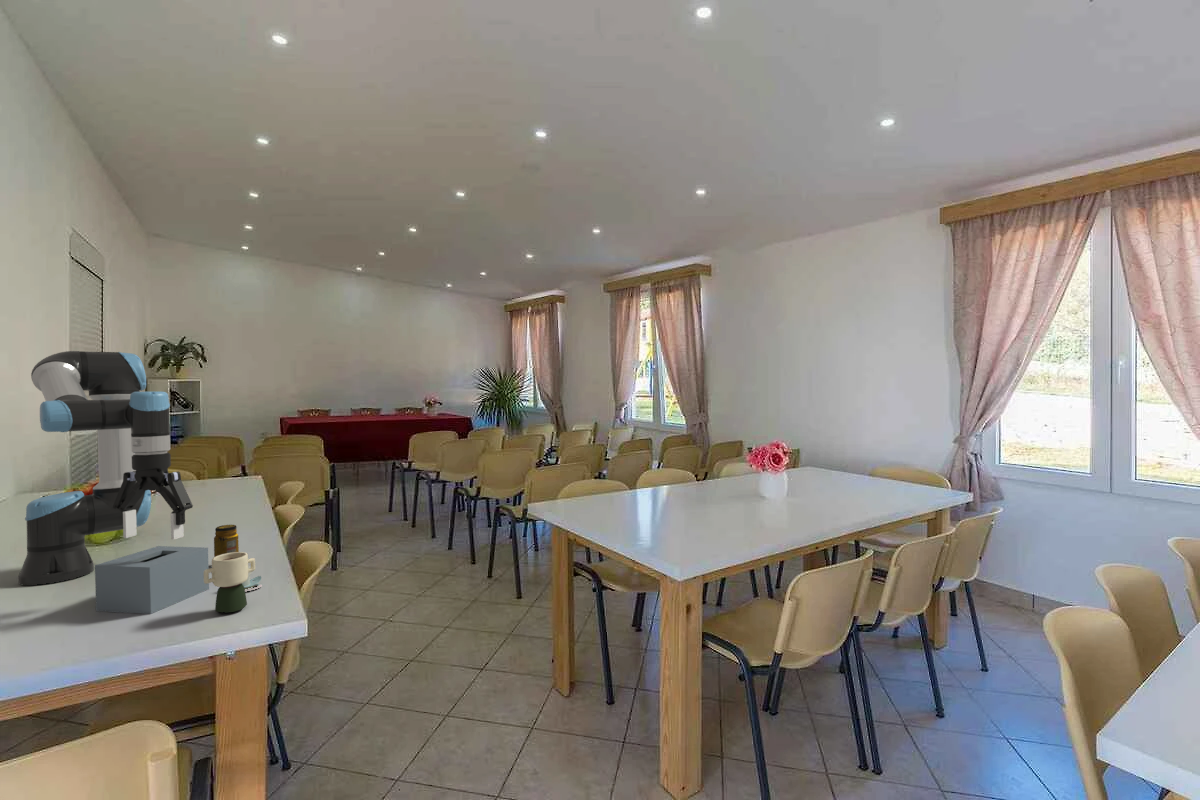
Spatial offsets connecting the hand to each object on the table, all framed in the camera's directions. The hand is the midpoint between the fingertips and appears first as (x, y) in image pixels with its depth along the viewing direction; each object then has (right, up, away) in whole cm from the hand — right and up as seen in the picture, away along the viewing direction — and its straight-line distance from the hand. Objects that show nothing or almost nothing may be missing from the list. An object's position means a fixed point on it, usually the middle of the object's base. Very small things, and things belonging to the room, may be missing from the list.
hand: (153, 537), depth 136 cm
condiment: (+1, -15, +25) cm, 30 cm away
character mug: (+24, -16, -7) cm, 30 cm away
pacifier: (+19, -16, +7) cm, 26 cm away
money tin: (0, -16, 0) cm, 16 cm away
